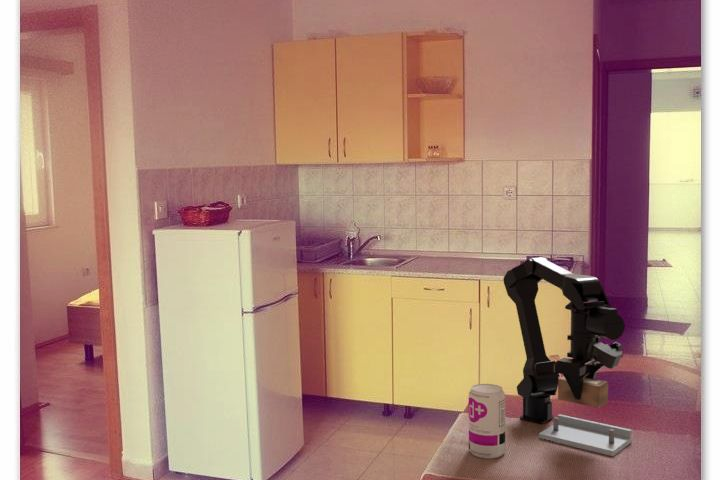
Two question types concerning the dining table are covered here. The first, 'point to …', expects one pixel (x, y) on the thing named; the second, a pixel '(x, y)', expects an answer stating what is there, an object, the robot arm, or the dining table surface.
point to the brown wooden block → (585, 392)
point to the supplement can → (487, 421)
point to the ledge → (587, 435)
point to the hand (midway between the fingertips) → (582, 396)
